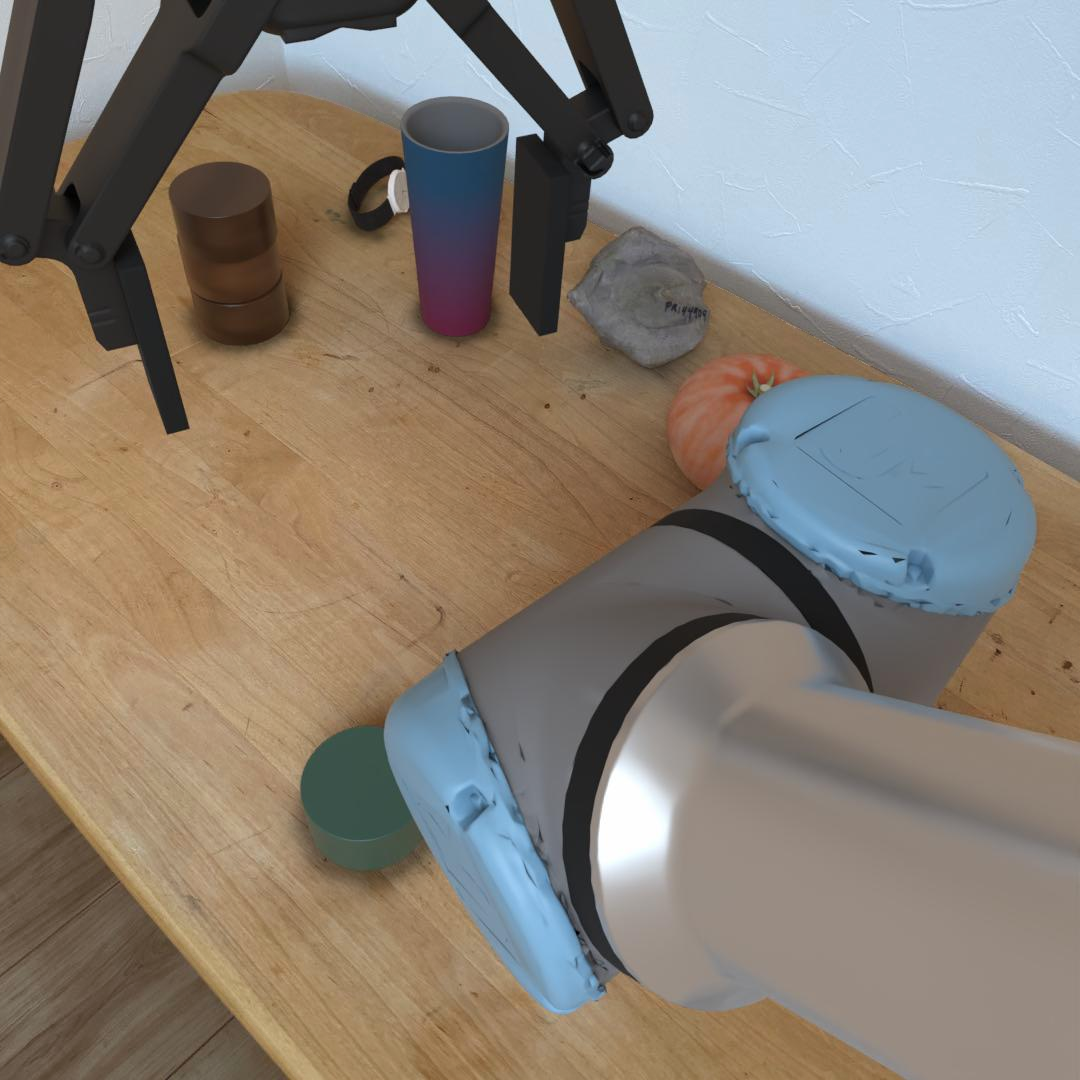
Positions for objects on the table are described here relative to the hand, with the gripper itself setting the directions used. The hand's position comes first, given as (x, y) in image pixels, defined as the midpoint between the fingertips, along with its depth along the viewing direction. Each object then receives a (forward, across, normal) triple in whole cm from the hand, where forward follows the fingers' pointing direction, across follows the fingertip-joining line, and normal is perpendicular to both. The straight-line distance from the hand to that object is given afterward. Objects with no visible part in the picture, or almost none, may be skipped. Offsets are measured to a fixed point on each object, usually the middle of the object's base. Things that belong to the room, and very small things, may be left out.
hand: (361, 357), depth 38 cm
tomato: (+25, -27, -8) cm, 37 cm away
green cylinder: (+24, +3, +5) cm, 25 cm away
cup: (+25, -16, -29) cm, 41 cm away
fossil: (+25, -26, -22) cm, 42 cm away
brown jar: (+25, -2, -34) cm, 42 cm away
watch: (+22, -15, -44) cm, 51 cm away
